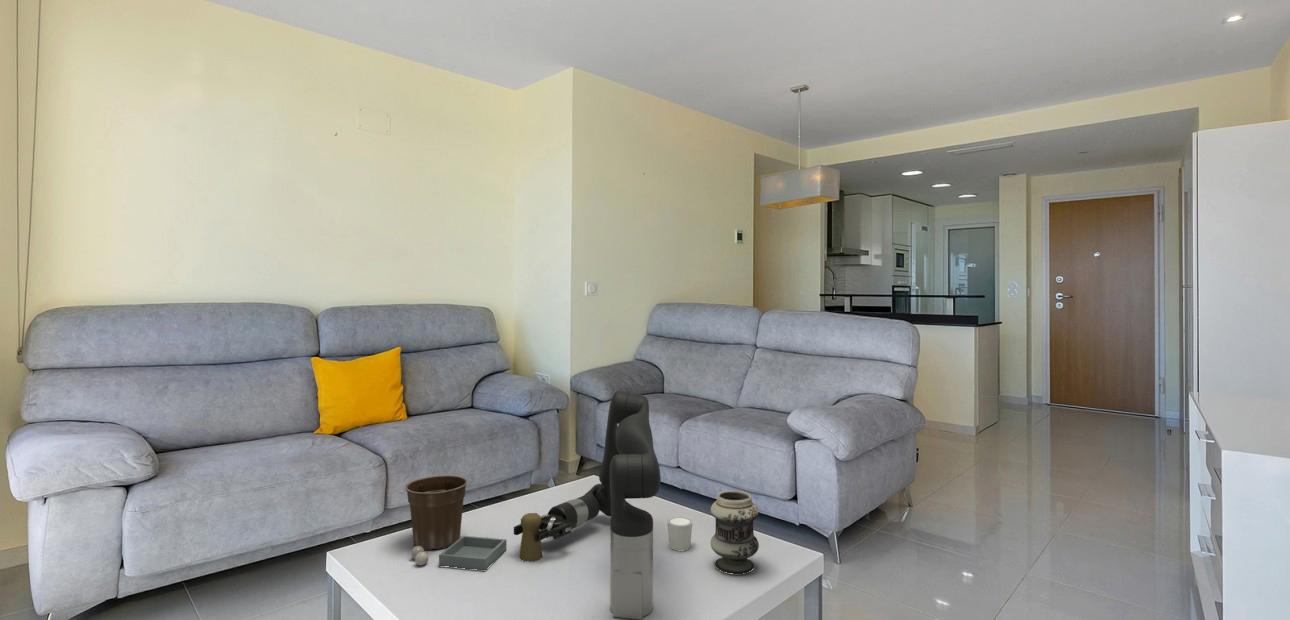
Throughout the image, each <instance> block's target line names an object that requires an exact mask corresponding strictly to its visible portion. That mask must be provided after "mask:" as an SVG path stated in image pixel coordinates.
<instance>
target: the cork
mask: <svg viewBox="0 0 1290 620" xmlns="http://www.w3.org/2000/svg"><path fill="white" fill-rule="evenodd" d="M536 513H537V512H528V513H526V514H525V513H524V515H522V517H521V518H520V524H521V525H522V527H523V532H522V533H521V534H522V535H521V541H520V549H519V558H520V559H521V560H520V559H519V560H520V561H522V560H523V561H522V562H525V561H529V562H528V563H531V561H533V562H537V561H540V560H541V559H543V557H544V556H543V547H542V540H540V541H538V542H535V541H534V533H536V532H538V531H539V526H540V525H541V517H540V516H541V515H540V514H538V513H537V514H536Z"/></svg>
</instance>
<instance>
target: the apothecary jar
mask: <svg viewBox="0 0 1290 620" xmlns="http://www.w3.org/2000/svg"><path fill="white" fill-rule="evenodd" d="M710 513H711V515H712V517H714V519H715V532H714V533H715V534H713V535H712V537H711V538H710V543H709V544H710V547H711V548H710V549H712V550H713V552H714V553H716V554H717V555H718V556H719V557H720V558H717V559H716V560H715V562H714V567H715V566H716V567H717V568H718V569H719V570H721V571H723V572H727V573H733V574H743V573H747V572H749V571H751V570H752V569H753V568H754V569H755V564H754V562H753V561H752V560H751V559H750V558H751V557H753V556H754V555H755V554H757V552H758V550H759V548H760V544H759V541H758V538H757V537H756V536H755V535H754V534H755V532H754V520H756V519H757V517H758V515H759V509H758V507H757V505H756V504H755V503H754V502H753V500H752V495H751V494H750V493H749V492H745V491H743V490H742V491H741V490H724V491H720V492H719V493H718V494H717V495H716V501H713V503H712V505H711V507H710ZM716 567H715V568H716ZM719 570H718V571H719ZM721 571H720V572H721ZM723 572H722V573H723ZM743 575H744V574H743Z"/></svg>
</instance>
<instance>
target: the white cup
mask: <svg viewBox="0 0 1290 620" xmlns="http://www.w3.org/2000/svg"><path fill="white" fill-rule="evenodd" d="M667 530H668V531H667V532H668V533H667V534H668V543H669V546H668V547H669V549H670V550H672V549H674V550H673V551H675V550H678V551H677V552H680V551H679V550H686V551H688V550H689V549H688V548H690V549H691V544H692V542H691V540H692V533H693V532H692V531H693V520H692V519H690V518H688V517H683V516H676V517H671V518H669V519H667ZM687 549H688V550H687Z"/></svg>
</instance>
